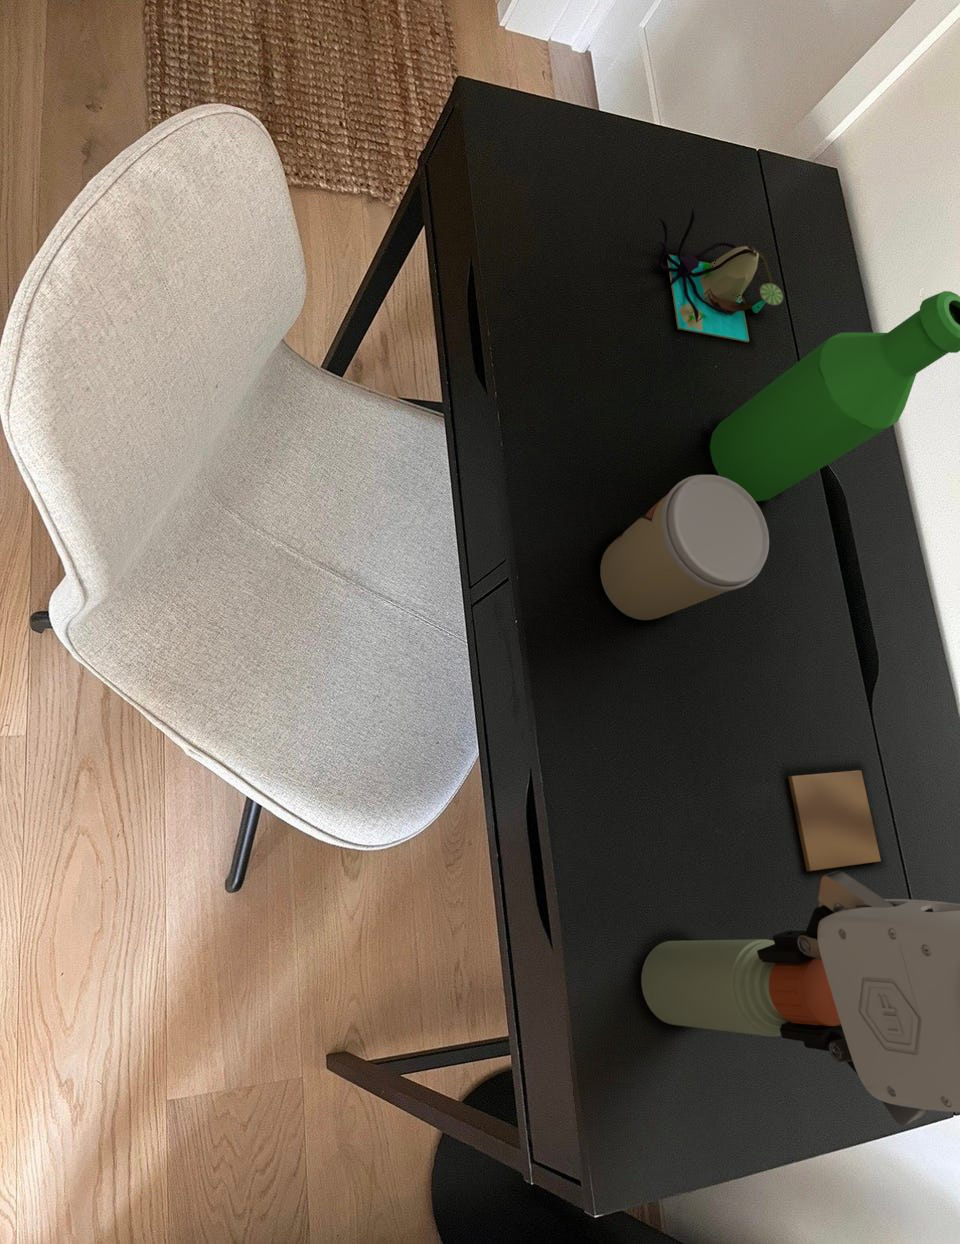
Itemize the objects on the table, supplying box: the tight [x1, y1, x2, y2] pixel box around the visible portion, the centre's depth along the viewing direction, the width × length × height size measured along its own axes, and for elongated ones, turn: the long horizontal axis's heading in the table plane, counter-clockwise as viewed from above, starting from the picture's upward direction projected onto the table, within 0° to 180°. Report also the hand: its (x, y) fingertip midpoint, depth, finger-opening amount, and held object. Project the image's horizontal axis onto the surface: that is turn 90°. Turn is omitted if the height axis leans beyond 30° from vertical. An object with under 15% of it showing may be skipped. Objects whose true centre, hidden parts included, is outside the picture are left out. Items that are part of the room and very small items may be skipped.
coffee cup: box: [599, 474, 770, 621], centre depth 75 cm, size 9×9×12 cm
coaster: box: [787, 769, 882, 872], centre depth 81 cm, size 8×8×1 cm
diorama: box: [658, 207, 784, 343], centre depth 91 cm, size 11×15×6 cm
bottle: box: [709, 290, 960, 502], centre depth 78 cm, size 9×9×25 cm
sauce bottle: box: [640, 938, 789, 1038], centre depth 64 cm, size 6×6×16 cm
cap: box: [769, 958, 841, 1026], centre depth 58 cm, size 4×4×3 cm
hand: (787, 986), depth 60 cm, fingers closed on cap, 4 cm apart
